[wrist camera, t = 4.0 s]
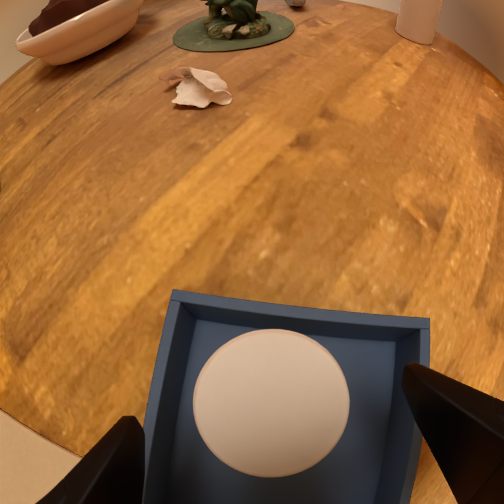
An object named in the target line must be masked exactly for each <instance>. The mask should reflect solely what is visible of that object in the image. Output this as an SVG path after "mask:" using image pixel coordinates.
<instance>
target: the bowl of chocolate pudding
mask: <svg viewBox="0 0 504 504" xmlns="http://www.w3.org/2000/svg"><path fill="white" fill-rule="evenodd" d="M144 1H145V0H50V2H49V4H48V5H47V6H46V7H45V8H44V9H43V10H42V12H41V14H40V16H38V17H37V18H36V19H35V20H33V21H32V22H31V24H30V25H29V27H28V29H27V30H26V31H24V32H23V33H22V34H21V35H20V36H19V37H18V39H17V40H16V48H17V49H18V51H20V52H21V53H23V54H26V55H29V56H33V57H38V58H40V59H41V60H43V61H44V62H45V63H47V64H49V65H62V64H66V63H70V62H73V61H75V60H78V59H81V58H83V57H85V56H88V55H90V54H92V53H94V52H96V51H98V50H100V49H102V48H104V47H106V46H108V45H109V44H111V43H113V42H114V41H116V40H118V39H119V38H121V37H122V36H124V35H125V34H126V33H127V32H129V31H130V30H131V29H132V28H133V27H134V26H135V24H136V22H137V19H138V15H139V9H140V7H141V5H142V4H143V2H144Z"/></svg>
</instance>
